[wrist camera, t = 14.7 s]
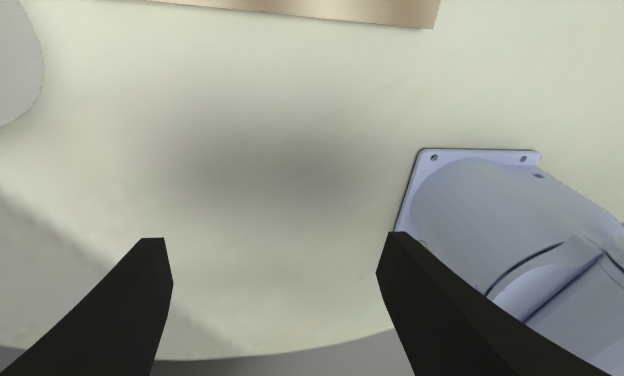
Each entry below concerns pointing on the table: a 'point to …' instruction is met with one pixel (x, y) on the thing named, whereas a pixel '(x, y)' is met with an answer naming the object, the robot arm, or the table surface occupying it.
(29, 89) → the base with upright slab
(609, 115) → the table surface
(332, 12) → the dock
